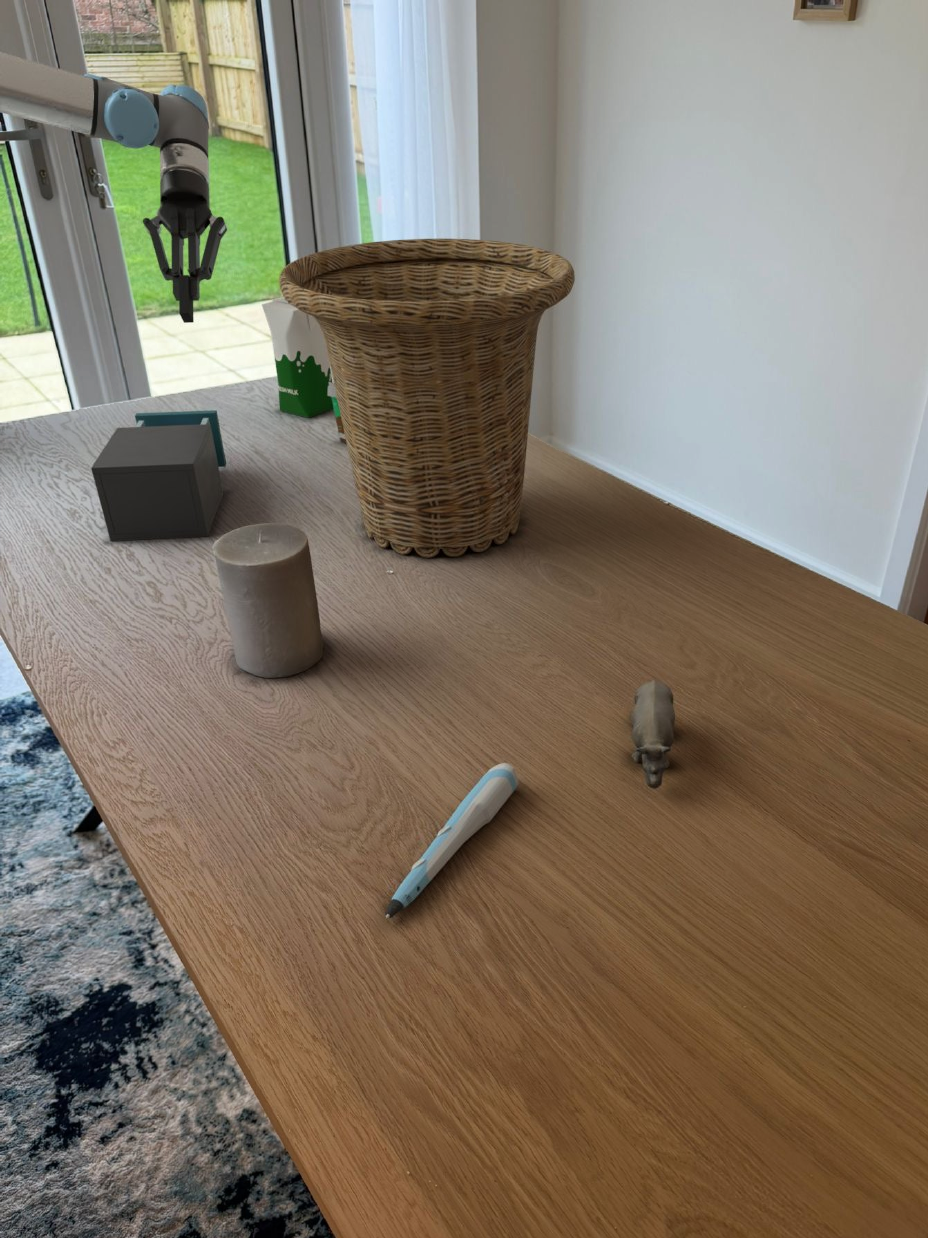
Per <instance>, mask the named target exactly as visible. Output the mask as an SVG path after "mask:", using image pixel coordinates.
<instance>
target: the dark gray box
mask: <svg viewBox="0 0 928 1238" xmlns="http://www.w3.org/2000/svg"><path fill="white" fill-rule="evenodd" d="M90 469H91V473H92V477H93V480H94V484H95V488H96V492H97V497H98V499H99V503H100V507H101V511H102V514H103V519H104V522H105V526H106V529H107V534H108V538H109V541H110V542H121V541H122V542H123V541H142V540H143V541H144V540H160V539H161V540H162V539H163V540H164V539H180V538H181V539H183V538H203V537H204V538H207V537H209V534H210V531H211V528H212V525H213V522H214V520H215V517H216V515H217V512H218V509H219V506H220V503H221V501H222V498H223V494H224V488H223V482H222V477H221V473H220V467H219V466H218V461H217V456H216V451H215V445H214V440H213V435H212V429H211V425H210V424H201V425H176V426H150V427H135V426H127V427H116V429H115V431H114V432H113V434H112V435H111V437H110V438H109V440H108V441H107V442H106V445H104V447H103V449H102V451H101V452H100V453H99V455H98V457H96V459H95V461H94V463H93V464H92V465H91V467H90Z"/></svg>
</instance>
